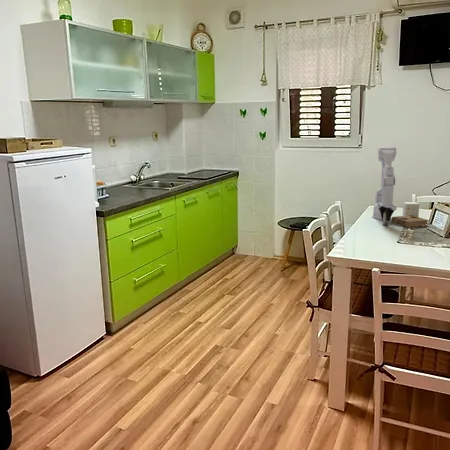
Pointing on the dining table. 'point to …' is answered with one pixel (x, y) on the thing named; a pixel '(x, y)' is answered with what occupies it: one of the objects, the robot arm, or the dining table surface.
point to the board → (409, 221)
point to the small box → (411, 209)
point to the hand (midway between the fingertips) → (385, 220)
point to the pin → (385, 220)
